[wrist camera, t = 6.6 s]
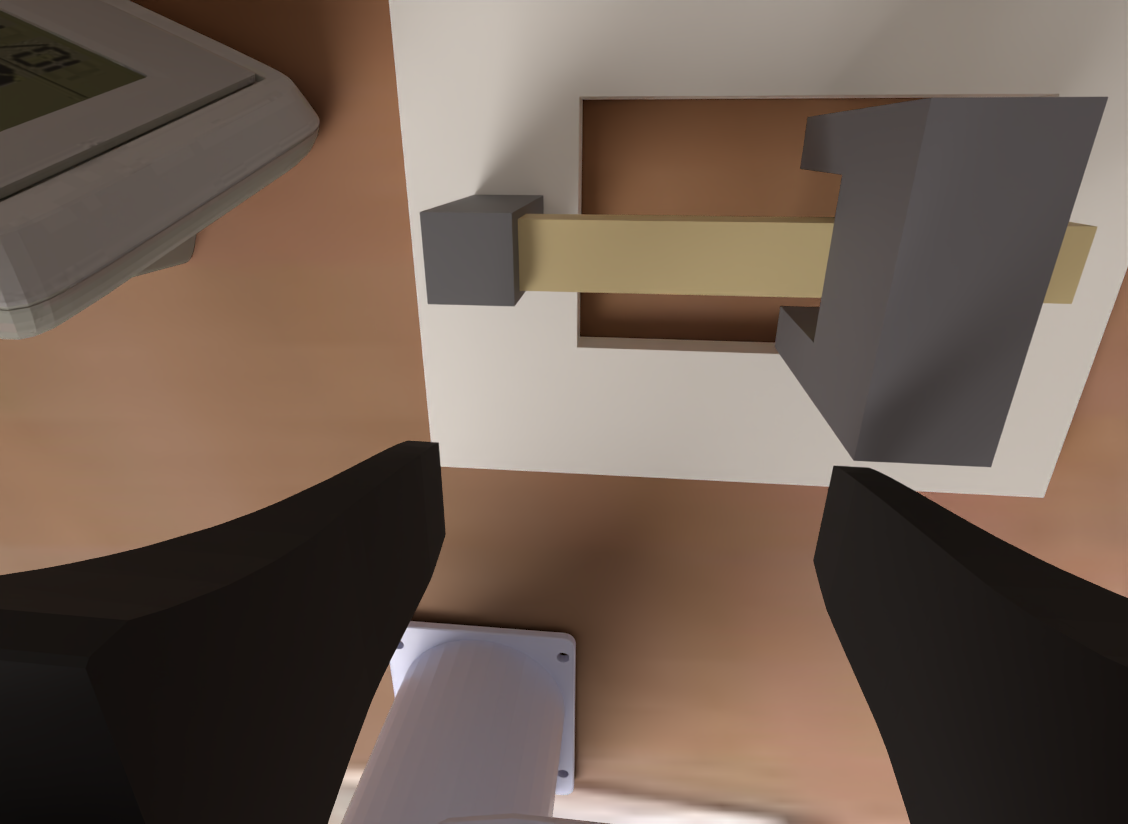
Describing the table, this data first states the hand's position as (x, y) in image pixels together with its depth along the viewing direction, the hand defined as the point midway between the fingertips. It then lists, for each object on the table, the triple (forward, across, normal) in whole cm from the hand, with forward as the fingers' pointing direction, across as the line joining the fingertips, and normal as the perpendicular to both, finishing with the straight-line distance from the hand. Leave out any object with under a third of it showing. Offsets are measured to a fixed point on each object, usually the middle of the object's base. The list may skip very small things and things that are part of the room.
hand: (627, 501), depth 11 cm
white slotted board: (+10, -3, -3) cm, 11 cm away
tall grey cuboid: (+8, -5, -4) cm, 10 cm away
